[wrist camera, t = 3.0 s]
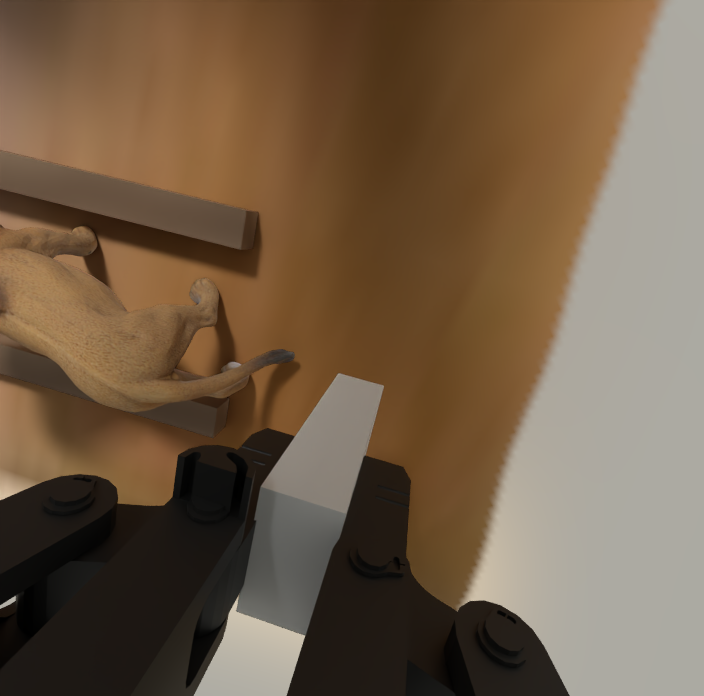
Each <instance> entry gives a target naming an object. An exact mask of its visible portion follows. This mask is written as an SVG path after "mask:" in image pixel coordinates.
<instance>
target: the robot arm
mask: <svg viewBox="0 0 704 696" xmlns="http://www.w3.org/2000/svg"><path fill="white" fill-rule="evenodd" d="M383 388H384V386H383V385H380V384H376V383H372V382H369V381H365V380H362V379H358V378H354V377H351V376H347V375H344V374H340V373H338V375H337V376H336V378H335V379H334V380H333V382H332V383H331V385H330V386H329V388H328V389H327V391H326V392H325V394H324V395H323V396H322V398H321V399H320V401H319V402H318V404H317V405H316V407H315V408H314V410H313V411H312V413H311V414H310V415H309V417H308V418H307V420H306V421H305V423H304V424H303V426H302V427H301V429H300V430H299V431H298V433H297V434H296V436H292V435H289V434H286V433H282V432H279V431H276V430H272V429H269V428H267V429H264V430H262V431H259V432H257V433H255V434H252V435H251V436H250V437H249V438H248V439H247V440H246V441H245V443H244V444H243V445H242V447H240V448H239V449H238V450H236V449H234V448H230V447H225V446H219V445H207V446H199V447H195V448H191V449H188V450H186V451H185V452H183V453H181V454H179V455H178V460H177V468H176V475H175V483H174V491H173V497H172V498H171V499H170V500H169V501H168V502H167V503H166V504H165V505H164V506H142V505H129V504H117V502H118V495H117V488H116V487H115V486H114V485H113V484H112V483H111V482H110V481H109V480H106V479H103V478H101V477H98V476H93V475H82V474H78V475H69V476H61V477H58V478H54V479H51V480H48V481H45V482H42V483H40V484H37V485H35V486H33V487H30V488H28V489H26V490H24V491H21V492H19V493H17V494H14V495H12V496H10V497H7V498H5V499H3V500H0V605H1V604H3V603H4V602H6V601H8V600H9V599H11V598H12V597H14V596H16V601H15V602H13V603H12V604H10V605H8V606H6V607H4V608H1V609H0V696H194V694H195V692H196V690H197V688H198V686H199V684H200V682H201V680H202V678H203V676H204V674H205V672H206V670H207V668H208V666H209V664H210V662H211V661H212V658H213V657H214V655H215V653H216V651H217V649H218V647H219V645H220V643H221V641H222V639H223V636H224V632H225V629H226V625H227V620H228V614H229V612H230V610H231V608H232V606H233V604H234V602H235V601H236V599H237V597H238V595H239V593H240V595H239V600H238V605H237V610H236V611H237V612H239V613H243V614H245V615H248V616H251V617H254V618H257V619H259V620H262V621H266V622H268V623H271V624H274V625H277V626H279V627H282V628H285V629H288V630H291V631H294V632H296V633H299V634H303V635H305V639H304V642H303V645H302V648H301V651H300V655H299V658H298V661H297V664H296V667H295V671H294V674H293V677H292V680H291V683H290V687H289V690H288V693H287V696H569V694H568V692H567V690H566V688H565V686H564V684H563V682H562V680H561V678H560V676H559V675H558V672H557V671H556V669H555V667H554V665H553V663H552V661H551V659H550V657H549V655H548V653H547V651H546V649H545V647H544V645H543V644H542V643H541V641H540V640H539V638H538V637H537V635H536V634H535V632H534V631H533V630H532V629H531V628H530V627H529V626H528V625H527V624H526V623H525V622H524V621H523V620H522V619H521V618H520V617H518V616H517V615H516V614H514V613H512V612H511V611H509V610H507V609H506V608H504V607H502V606H501V605H497V604H494V603H491V602H487V601H469V602H468V603H466V604H465V605H463V606H461V607H460V608H459V610H458V612H457V611H456V610H454V609H452V608H451V607H449V606H448V605H446V604H444V603H443V602H441V601H440V600H438V599H436V598H435V597H434V596H432V595H431V594H430V593H428V592H427V591H426V590H425V589H424V588H423V587H422V586H421V585H420V584H419V583H418V582H417V581H416V579H415V578H414V576H413V575H412V573H411V569H410V564H409V561H408V560H407V558H406V545H407V530H408V515H409V509H408V508H409V500H410V497H409V496H410V485H411V480H410V479H409V477H408V475H407V473H406V471H405V469H404V468H403V467H401V466H398V465H395V464H391V463H388V462H385V461H381V460H378V459H375V458H371V457H368V456H365V455H366V452H367V448H368V444H369V441H370V437H371V433H372V429H373V426H374V422H375V418H376V414H377V411H378V407H379V403H380V400H381V396H382V392H383Z"/></svg>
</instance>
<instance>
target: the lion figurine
mask: <svg viewBox="0 0 704 696" xmlns="http://www.w3.org/2000/svg"><path fill="white" fill-rule="evenodd" d="M96 247H97V240H96V237H95V234H94V232H93V231H92V230H91V229H90V228H89V227H87V226H80V227H77V228H75V229H74V230H73V231H72V232H71V233H70V234H68V233H64V232H57V231H52V230H48V229H43V228H31V227H30V228H24V229H20V230H10V229H5V228H3V227H2V226H1V225H0V333H1V334H3V335H5V336H7V337H8V338H10V339H12V340H13V341H15V342H17V343H19V344H21V345H23V346H25V347H26V348H28V349H30V350H32V351H34V352H37V353H40V354H42V355H45V356H47V357H49V358H50V359H51V360H53V361H54V362H56V363H57V364H58V365H59V366H60V367H61V368H62V369H63V371H64V372H65V373H66V374H67V375H68V377H69V378H70V379H71V380H72V382H73V383H74V384H75V385H76V386H77V387H78V388H79V389H80V390H81V391H82V392H84V393H85V394H86V395H87V396H89V397H90V398H92V399H93V400H95V401H96V402H98V403H100V404H103V405H105V406H108V407H112V408H116V409H120V410H124V411H130V412H140V411H147V410H151V409H154V408H157V407H159V406H162V405H164V404H167V403H173V402H181V401H187V400H192V399H196V398H200V397H203V396H210V397H215V398H226V397H228V396H230V395H232V394H233V393H235V392H237V391H239V390H241V389H242V388H244V387H245V386H246V384H247V383H248V380H249V375H250V374H252V373H254V372H256V371H257V370H259V369H261V368H263V367H265V366H268V365H271V364H280V363H285V362H290V361H292V360H293V359H294V357H295V354H294V352H289V351H286V350H283V349H279V350H272V351H269V352H266V353H264V354H262V355H260V356H258V357H256V358H254V359H252V360H250V361H249V362H247V363H244V364H242V365H241V364H239V363H237V362H230V363H228V364H227V365H225V366H223V367H222V369H221V374H217V375H214V376H210V377H204V376H199V375H195V374H191V373H189V372H184V371H181V370H178V369H175V367H176V365H177V364H178V363H179V361H180V360H181V358H182V357H183V355H184V353H185V352H186V350H187V348H188V346H189V344H190V342H191V340H192V338H193V336H194V334H195V333H196V331H197V330H199V329H200V328H203V327H212V326H214V325H215V324H216V322H217V310H218V303H219V292H218V289H217V288H216V286H215V284H214V283H213V282H212V281H211V280H209V279H207V278H203V279H198V280H196V281H195V282H194V284H193V285H192V287H191V291H190V297H191V299H192V300H193V301H194V302H195V303H197V305H195V306H187V305H168V304H160V305H155V306H153V307H150V308H147V309H142V310H136V311H133V312H130V313H129V312H127V311H126V309H125V307H124V306H123V304H122V303H121V301H120V300H119V298H118V297H117V296H116V295H115V294H114V292H113V291H112V290H111V289H110V288H109V287H108V286H106V285H105V284H103V283H102V282H101V281H99V280H98V279H96V278H95V277H93V276H92V275H90V274H88V273H86V272H84V271H82V270H80V269H78V268H76V267H73V266H71V265H68V264H66V263H63V262H60V261H58V260H55V259H53V258H54V257H55V256H57V255H62V254H69V255H75V256H84V255H89V254H91V253H92V252H93V251H94V250H95V249H96Z"/></svg>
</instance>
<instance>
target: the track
mask: <svg viewBox="0 0 704 696" xmlns="http://www.w3.org/2000/svg"><path fill="white" fill-rule="evenodd" d="M0 189H2V190H6V191H10V192H14V193H18V194H22V195H26V196H30V197H34V198H38V199H42V200H46V201H50V202H54V203H58V204H62V205H66V206H70V207H74V208H78V209H81V210H85V211H89V212H93V213H97V214H101V215H105V216H109V217H113V218H117V219H121V220H125V221H129V222H133V223H137V224H141V225H145V226H149V227H153V228H157V229H161V230H165V231H169V232H173V233H177V234H181V235H185V236H189V237H192V238H196V239H200V240H204V241H208V242H212V243H216V244H220V245H224V246H228V247H232V248H236V249H240V250H243V249H253V244H254V237H255V231H256V224H257V218H258V212H255V211H251V210H246V209H242V208H238V207H234V206H230V205H226V204H222V203H217V202H213V201H209V200H205V199H201V198H197V197H193V196H188V195H184V194H180V193H176V192H172V191H168V190H164V189H160V188H155V187H151V186H147V185H143V184H139V183H135V182H131V181H126V180H122V179H118V178H114V177H110V176H106V175H102V174H97V173H93V172H89V171H85V170H81V169H77V168H73V167H68V166H64V165H60V164H56V163H52V162H48V161H44V160H39V159H35V158H31V157H27V156H23V155H19V154H15V153H10V152H6V151H2V150H0ZM0 374H3V375H7V376H10V377H13V378H17V379H20V380H23V381H26V382H30V383H33V384H36V385H40V386H43V387H46V388H50V389H53V390H56V391H59V392H63V393H66V394H69V395H73V396H76V397H79V398H82V399H86V400H89V401H92V402H96V401H95V400H93V399H92V398H90V397H89V396H87V395H86V394H85V393H84V392H82V391H81V390H80V389H79V388H78V387H77V386H76V385H75V384H74V383H73V382H72V380H71V379H70V378H69V377H68V375H67V374H66V373H65V372H64V371H63V369H62V368H61V367H60V366H59V365H58V364H57V363H56V362H54V361H53V360H51V359H50V358H49V357H47V356H45V355H42V354H40V353H37V352H34V351H32V350H30V349H28V348H26V347H25V346H23V345H21V344H19V343H17V342H15V341H13V340H12V339H10V338H8V337H7V336H5V335H3V334H1V333H0ZM229 399H230V398H215V397H210V396H203V397H200V398H196V399H192V400H187V401H181V402H173V403H167V404H164V405H162V406H159V407H157V408H154V409H151V410H147V411H140V412H130V411H125V412H129V413H132V414H135V415H139V416H142V417H145V418H148V419H152V420H155V421H158V422H162V423H165V424H168V425H171V426H175V427H178V428H181V429H185V430H188V431H191V432H195V433H198V434H201V435H204V436H208V437H211V438H214V437H215V436H216V435H217V434H218V433H219V432H220V431H221V430H222V429H223V428H224V427H225V424H226V418H227V411H228V405H229ZM96 403H98V402H96ZM99 404H100V403H99ZM102 405H103V404H102ZM115 409H116V408H115ZM119 410H120V409H119ZM122 411H124V410H122Z"/></svg>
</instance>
